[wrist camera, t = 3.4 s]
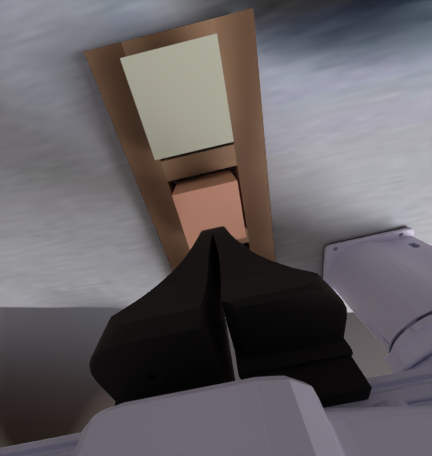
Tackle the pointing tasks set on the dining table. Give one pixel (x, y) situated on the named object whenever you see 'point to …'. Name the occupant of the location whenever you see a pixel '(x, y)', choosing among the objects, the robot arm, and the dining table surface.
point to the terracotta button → (209, 205)
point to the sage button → (181, 96)
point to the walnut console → (206, 158)
